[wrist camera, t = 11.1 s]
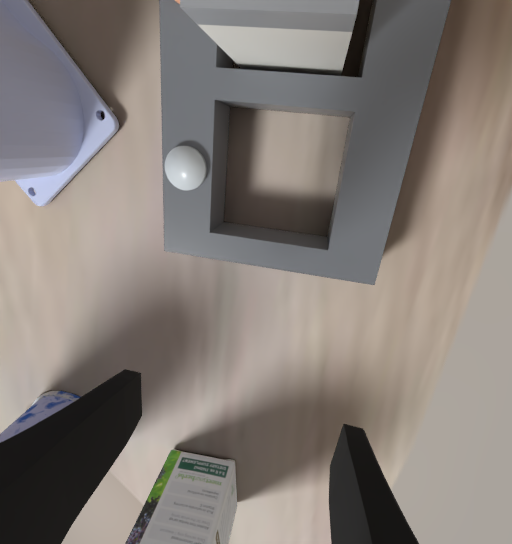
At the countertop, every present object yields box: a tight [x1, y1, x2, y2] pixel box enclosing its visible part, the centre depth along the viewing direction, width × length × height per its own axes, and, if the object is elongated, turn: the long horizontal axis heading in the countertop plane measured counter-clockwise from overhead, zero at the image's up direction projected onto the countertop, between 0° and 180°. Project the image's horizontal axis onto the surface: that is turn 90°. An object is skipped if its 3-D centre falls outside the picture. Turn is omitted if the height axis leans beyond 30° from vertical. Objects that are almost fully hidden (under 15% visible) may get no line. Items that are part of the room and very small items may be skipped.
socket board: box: [159, 0, 451, 285], centre depth 14 cm, size 16×11×3 cm
